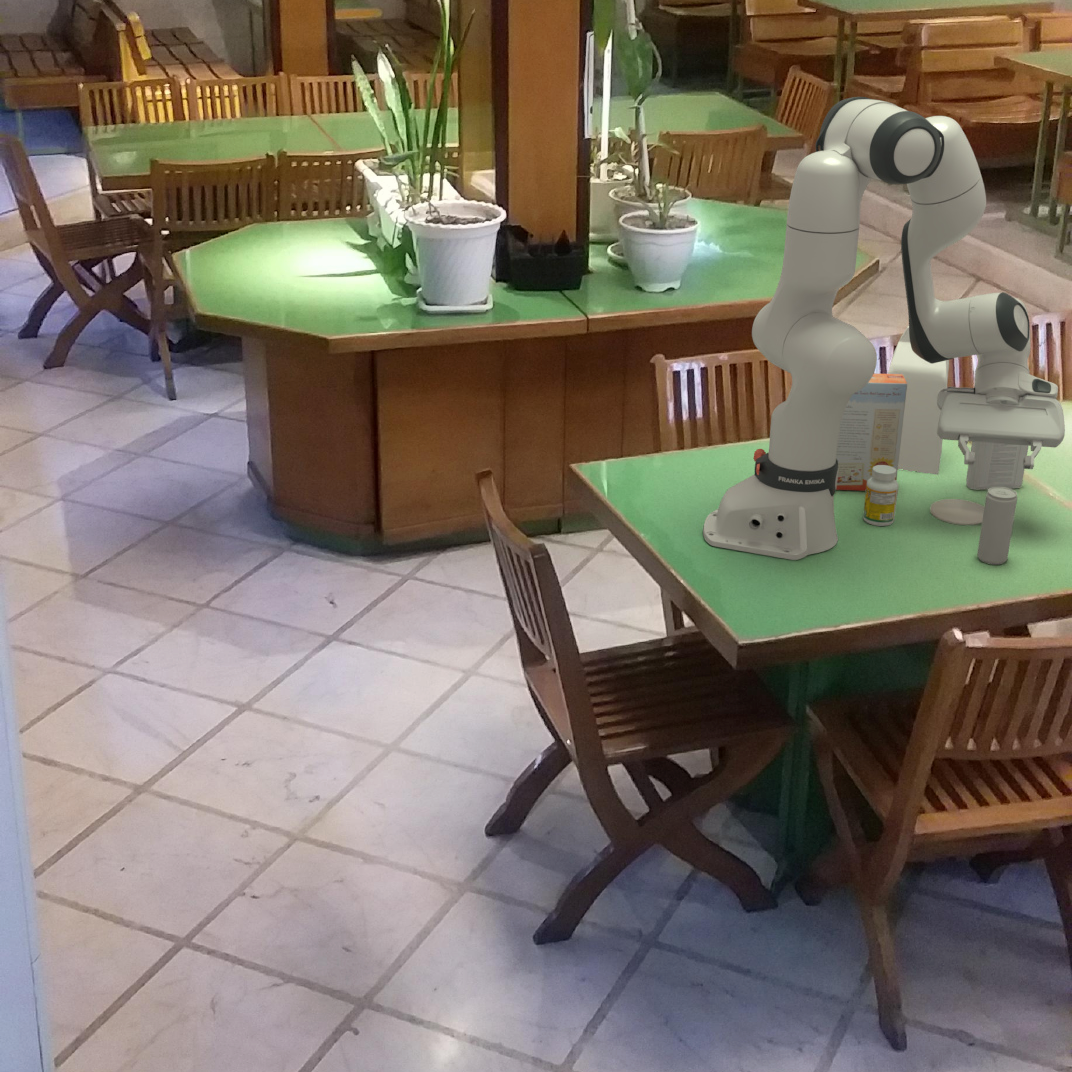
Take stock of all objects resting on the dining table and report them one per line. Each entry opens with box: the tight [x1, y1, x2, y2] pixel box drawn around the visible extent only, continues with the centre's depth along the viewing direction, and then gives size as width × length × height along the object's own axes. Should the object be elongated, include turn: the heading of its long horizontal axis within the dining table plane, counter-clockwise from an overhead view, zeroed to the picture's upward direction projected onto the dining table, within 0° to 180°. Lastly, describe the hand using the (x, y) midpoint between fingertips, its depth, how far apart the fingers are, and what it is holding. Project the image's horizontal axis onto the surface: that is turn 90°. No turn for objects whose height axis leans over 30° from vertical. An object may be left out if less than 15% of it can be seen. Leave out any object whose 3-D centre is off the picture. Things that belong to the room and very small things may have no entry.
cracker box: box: [836, 372, 907, 492], centre depth 262 cm, size 14×6×21 cm, turn 84°
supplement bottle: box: [862, 465, 899, 527], centre depth 250 cm, size 5×5×10 cm
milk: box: [887, 325, 950, 475], centre depth 273 cm, size 12×12×26 cm
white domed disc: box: [929, 498, 985, 526], centre depth 255 cm, size 10×10×1 cm
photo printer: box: [965, 442, 1029, 490], centre depth 264 cm, size 10×4×12 cm, turn 98°
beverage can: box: [976, 487, 1018, 566], centre depth 236 cm, size 5×5×12 cm
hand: (998, 465), depth 240 cm, fingers open, 8 cm apart
